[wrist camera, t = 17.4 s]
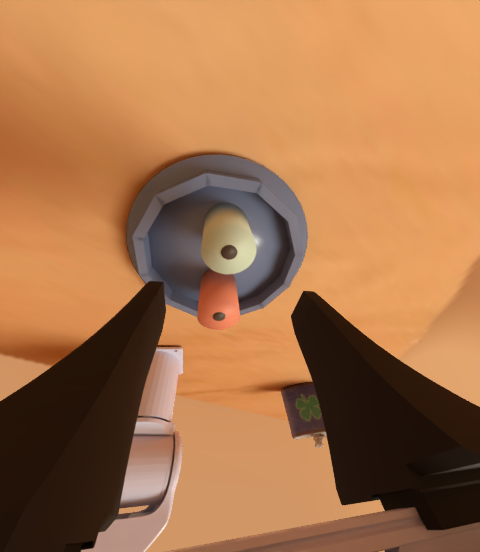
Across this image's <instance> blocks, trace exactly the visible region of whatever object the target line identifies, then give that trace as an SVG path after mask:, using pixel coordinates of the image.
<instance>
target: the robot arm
mask: <svg viewBox="0 0 480 552" xmlns="http://www.w3.org/2000/svg"><path fill="white" fill-rule="evenodd" d="M165 313H166V306H165V294H164V282H160V281H149V282H148V283H147V284H146V285H145V286H144V287H143V288H142V289H141V290H140V291H139V292H138V293H137V294H136V295H135V296H134V297H133V298H132V300H131V301H130V302H129V303H128V304H127V305H126V306H124V307H123V308H122V309H121V310H120V311H119V312H118V313H117V314H116V315H115V316H114V317H113V318H112V319H111V320H110V321H109V322H107V323H106V324H105V325H104V326H103V327H102V328H101V329H100V330H98V331H97V332H96V333H95V334H94V335H93V336H91V337H90V338H89V339H88V340H87V341H85V342H84V343H83V344H82V345H80V346H79V347H78V348H76V349H75V350H74V351H73V352H71V353H70V354H69V355H67V356H66V357H65V358H63V359H62V360H61V361H59V362H58V363H56V364H55V365H54V366H52V367H51V368H50V369H48V370H47V371H45V372H44V373H43V374H41V375H40V376H38V377H37V378H36V379H34V380H32V381H31V382H29V383H28V384H27V385H25V386H23V387H22V388H20V389H19V390H17V391H16V392H14V393H13V394H11V395H10V396H8V397H6V398H5V399H3V400H2V401H0V552H145V551H146V550H147V549H148V547H149V546H150V545H151V544H152V543H153V542H154V540H155V539H156V538H157V537H158V536H159V534H160V533H161V532H162V531H163V529H164V528H165V527H166V525H167V523H168V520H169V517H170V514H171V509H172V502H173V498H174V497H173V496H174V492H175V488H176V486H177V482H178V478H179V473H180V468H181V460H182V440H181V437H180V436H179V433H178V432H177V431H174V428H175V427H174V426H175V423H171V422H172V415H173V408H174V402H175V395H176V388H177V381H178V374H182V373H183V348H182V347H157V345H158V342H159V339H160V336H161V332H162V329H163V324H164V319H165ZM291 319H292V323H293V328H294V332H295V335H296V338H297V340H298V343H299V346H300V348H301V351H302V354H303V356H304V359H305V361H306V364H307V366H308V369H309V372H310V374H311V377H312V380H313V383H314V387H315V391H316V394H317V398H318V401H319V405H320V409H321V413H322V418H323V422H324V426H325V431H326V435H327V440H328V444H329V449H330V454H331V460H332V466H333V472H334V477H335V483H336V490H337V492H338V496H339V498H340V501H341V504H342V505H348V504H355V503H361V502H367V501H374V500H379V499H380V501H381V503H382V505H383V507H384V510H385V511H383V512H377V513H372V514H366V515H361V516H356V517H350V518H345V519H339V520H334V521H329V522H324V523H318V524H312V525H307V526H301V527H296V528H291V529H285V530H280V531H274V532H269V533H263V534H258V535H253V536H247V537H242V538H237V539H231V540H226V541H220V542H215V543H210V544H204V545H198V546H193V547H188V548H182V549H177V550H172V551H167V552H378V551H383V550H385V552H480V407H478V406H476V405H475V404H472V403H470V402H469V401H467V400H465V399H463V398H461V397H459V396H458V395H456V394H454V393H452V392H451V391H449V390H447V389H445V388H444V387H442V386H440V385H438V384H436V383H435V382H433V381H431V380H430V379H428V378H427V377H425V376H423V375H422V374H420V373H418V372H417V371H415V370H414V369H412V368H410V367H409V366H407V365H406V364H404V363H403V362H401V361H400V360H398V359H397V358H395V357H394V356H392V355H391V354H390V353H388V352H387V351H385V350H384V349H383V348H381V347H380V346H378V345H377V344H376V343H374V342H373V341H372V340H371V339H369V338H368V337H367V336H366V335H364V334H363V333H362V332H361V331H359V330H358V329H357V328H356V327H354V326H353V325H352V324H351V323H350V322H348V321H347V320H346V319H345V318H344V317H343V316H342V315H340V314H339V313H338V312H337V311H336V310H335V309H334V308H332V307H331V306H330V305H329V304H328V303H327V302H326V301H325V300H323V299H322V298H321V297H320V296H319V295H317V294H316V293H315V292H311V291H303V293H302V295H301V297H300V299H299V301H298V303H297V305H296V307H295V309H294V311H293V313H292V315H291ZM145 505H149V506H148V507H147V508H146V509H145V510H142V511H139V512H133V513H125V514H118V512H119V508H127V507H136V506H145Z"/></svg>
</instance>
